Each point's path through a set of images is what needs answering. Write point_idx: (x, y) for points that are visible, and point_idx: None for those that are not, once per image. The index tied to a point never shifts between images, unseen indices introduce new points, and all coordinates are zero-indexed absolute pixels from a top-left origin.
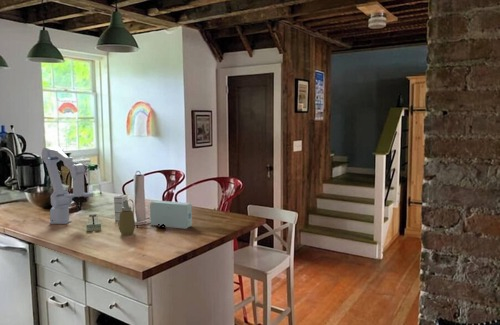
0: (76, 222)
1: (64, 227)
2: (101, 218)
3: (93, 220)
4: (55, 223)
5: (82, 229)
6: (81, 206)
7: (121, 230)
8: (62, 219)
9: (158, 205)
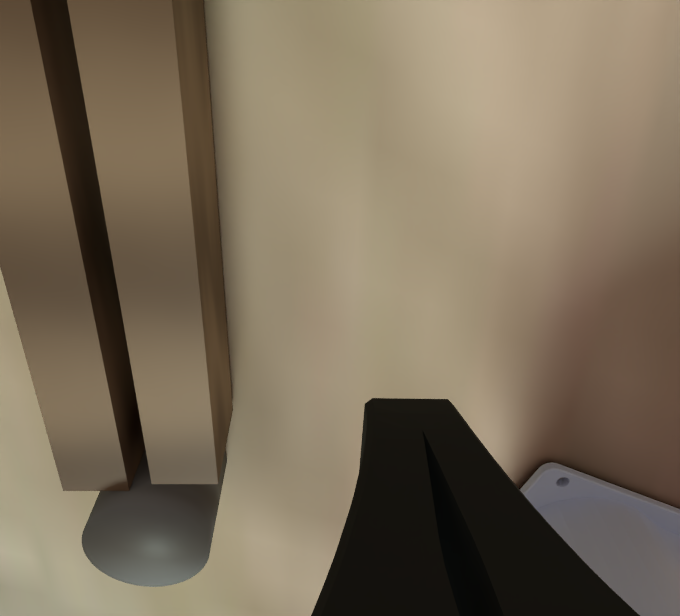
0: None
1: (602, 299)
2: (75, 561)
3: None
4: (666, 505)
5: (335, 24)
6: (352, 501)
7: None
8: (604, 537)
9: None
